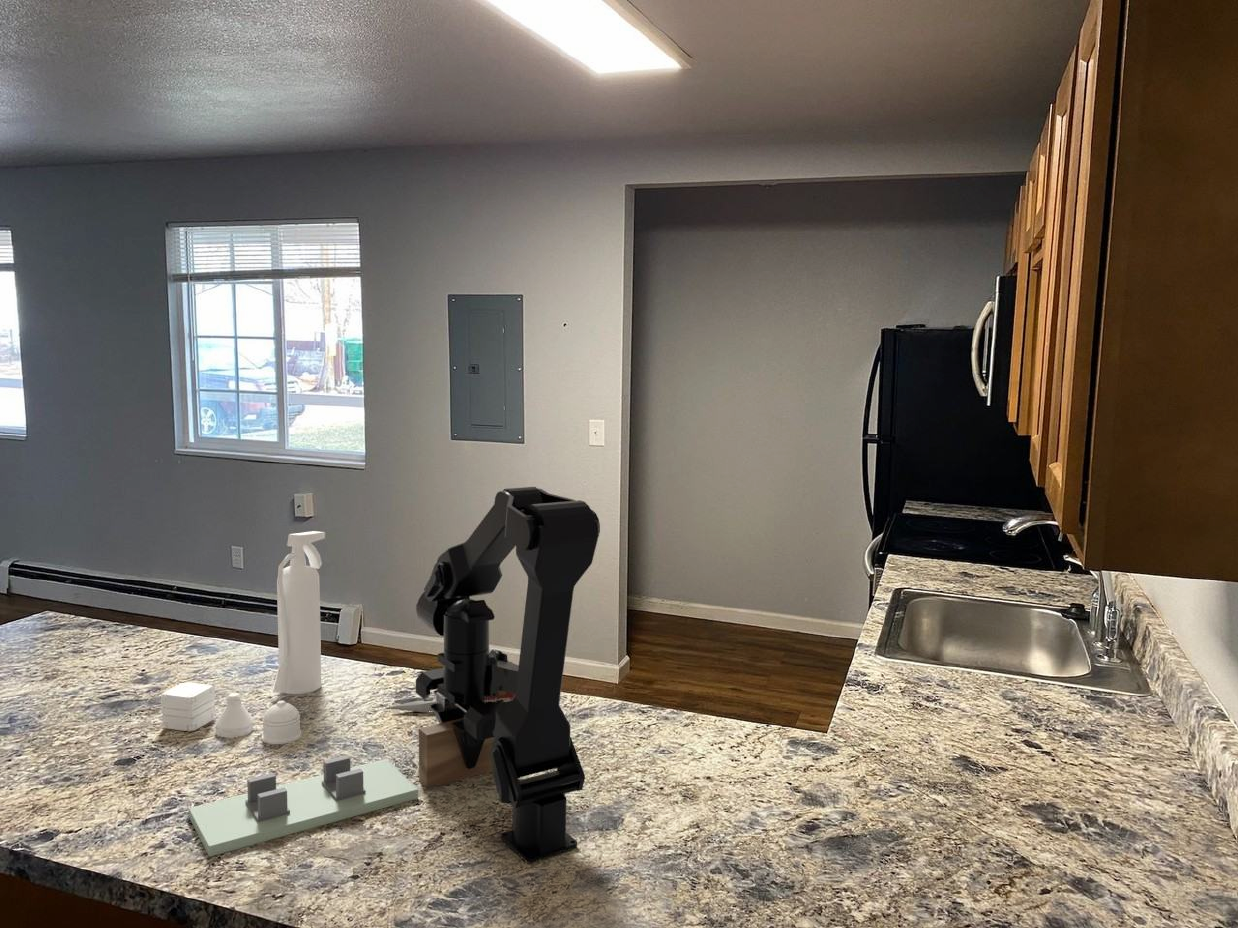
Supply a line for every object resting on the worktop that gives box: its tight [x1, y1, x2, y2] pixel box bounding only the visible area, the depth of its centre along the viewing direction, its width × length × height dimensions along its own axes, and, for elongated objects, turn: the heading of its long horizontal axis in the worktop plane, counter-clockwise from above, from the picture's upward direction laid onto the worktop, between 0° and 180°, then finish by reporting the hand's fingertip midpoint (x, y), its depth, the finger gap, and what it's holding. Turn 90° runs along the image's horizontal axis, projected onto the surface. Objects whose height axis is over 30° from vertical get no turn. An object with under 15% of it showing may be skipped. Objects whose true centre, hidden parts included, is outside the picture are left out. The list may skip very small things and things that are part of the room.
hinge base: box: [188, 754, 419, 858], centre depth 113 cm, size 10×24×4 cm, turn 126°
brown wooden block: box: [418, 718, 494, 789], centre depth 123 cm, size 2×12×7 cm, turn 126°
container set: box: [160, 682, 303, 745], centre depth 134 cm, size 20×5×6 cm, turn 77°
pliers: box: [390, 691, 515, 713], centre depth 144 cm, size 12×20×3 cm, turn 94°
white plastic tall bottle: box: [271, 530, 326, 695], centre depth 149 cm, size 7×12×25 cm, turn 162°
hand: (466, 763), depth 123 cm, fingers closed on brown wooden block, 2 cm apart
